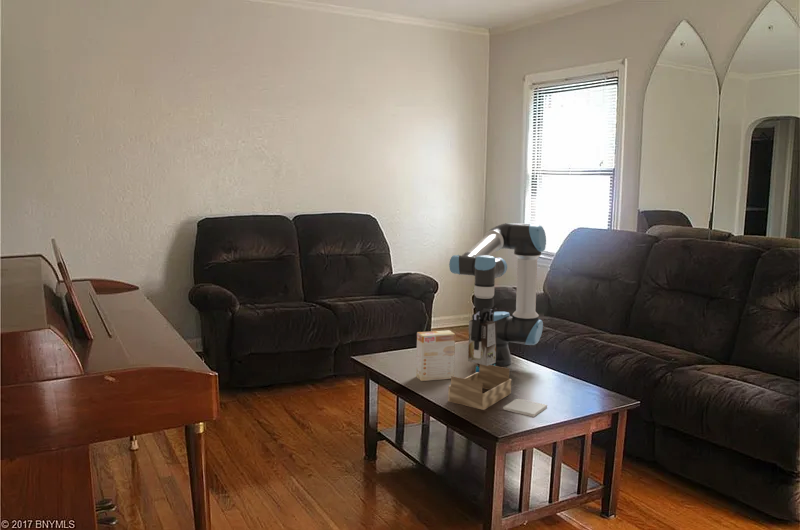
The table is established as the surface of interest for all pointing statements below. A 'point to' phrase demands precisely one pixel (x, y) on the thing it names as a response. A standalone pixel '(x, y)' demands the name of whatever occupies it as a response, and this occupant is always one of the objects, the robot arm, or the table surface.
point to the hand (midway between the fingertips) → (481, 355)
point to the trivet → (525, 407)
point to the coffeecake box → (435, 355)
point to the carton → (471, 387)
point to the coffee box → (484, 344)
